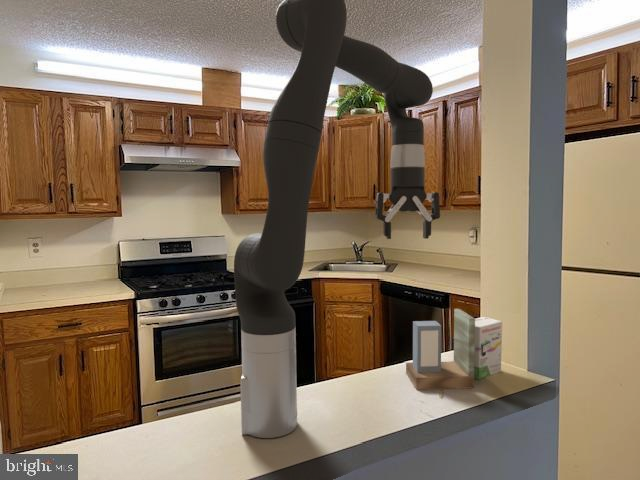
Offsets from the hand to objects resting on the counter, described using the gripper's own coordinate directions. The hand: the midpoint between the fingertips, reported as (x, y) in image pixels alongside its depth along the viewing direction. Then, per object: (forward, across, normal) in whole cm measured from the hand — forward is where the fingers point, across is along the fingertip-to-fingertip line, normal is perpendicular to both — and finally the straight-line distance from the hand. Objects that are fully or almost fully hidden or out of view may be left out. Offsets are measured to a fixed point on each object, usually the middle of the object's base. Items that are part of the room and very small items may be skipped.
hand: (407, 238), depth 105 cm
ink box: (+30, +16, -4) cm, 34 cm away
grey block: (+28, +2, -8) cm, 29 cm away
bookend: (+30, +5, -8) cm, 32 cm away
